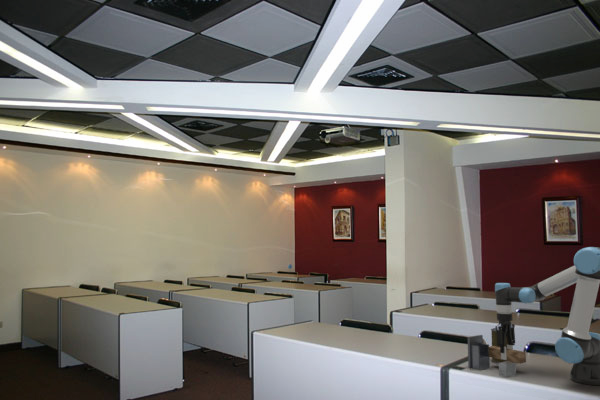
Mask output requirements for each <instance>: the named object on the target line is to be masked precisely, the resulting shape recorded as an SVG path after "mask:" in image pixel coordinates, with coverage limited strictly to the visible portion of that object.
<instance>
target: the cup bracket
mask: <svg viewBox="0 0 600 400" xmlns="http://www.w3.org/2000/svg"><path fill="white" fill-rule="evenodd" d="M483 336H484V335H483V334H478V335H472V336H467V359H468V363H467V364H468V365H467V366H468V369H469V368H470V370H471V368H472V370H476V371H483V370H487V369H490V367H491V366H490V365H491V363H490V362H491V361H490V358H491V357H489V347H490V344H488V343H484V341H483V340H484V337H483Z"/></svg>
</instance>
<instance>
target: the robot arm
mask: <svg viewBox="0 0 600 400" xmlns="http://www.w3.org/2000/svg"><path fill="white" fill-rule="evenodd" d="M574 284H576V285H575V290H574V294H573V298H572V304H571V307H570V313H569V316H568V322H567V326H566V327H564V328H562V330H561V336H560V338H558V339H557V341H556V342H555V344H554V349H555V353H556V354H557V356H558V358H559V359H561V360H562V361H564V363H568V364H572V366H571V370H570V373H569V375H570V376H569V379H570V380H571V381H573V382H576V383H579V384H584V385H590V386H600V334H599V333H596V332H593V331H592V332H591V331H590V327H591V323H592V318H593V315H594V310H595V305H596V300H597V297H598V292H599V289H600V288H599V287H600V247H595V246H588V247H583V248H581V249H579V250H577V252H576V253H575V255H574V257H573V265H572V266H570V267H569V268H567V269H564V270H561V271H560V272H558V273H556V274H554V275H553V276H550V277H548V278H546V279H543V280H542V281H540V282H537V283H536V284H533V285H532V286H526V287H525V286H524V287H512V286H511V284H510V283H509V282H496V283H495V284H494V293H495V294H494V295H495V296H494V297H495V308H496V320H497V321H498V324H497V325H498V326H497V325H496V326H495V327H494V328H496V334H497V345H498V346H500V351H501V359H503V360H507V355H506V347H505V338H506V337H507V342H508V345H507V349H512V350H514V347H513V346H515V345H516V334H515V333H516V332H515V326H516V325H515V324H513V323H512V321H513V320H514V319H513V314H512V313H513V307H512V306H513V305H512V303H522V304H532V303H533V304H534V302H540V301H542V300H544V299H546V297H548V296H551V295H552V294H555V293H557V292H559V291H562V290H563V289H566V288H568V287H570V286H572V285H574Z"/></svg>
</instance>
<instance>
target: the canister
mask: <svg viewBox="0 0 600 400" xmlns="http://www.w3.org/2000/svg"><path fill="white" fill-rule="evenodd" d="M498 325H499V324H497V325H496V326H498ZM490 330H491V346H496V347H500V346H498V345H497V334H496V328H495V327H494V328H490ZM507 345H508V342H507V337H506V338H505V347H506V348H507ZM491 358H492V357H491ZM505 361H506V360H501V359H496V358H492V360H491V362H493V363H494V364H499V363H501V362H505Z"/></svg>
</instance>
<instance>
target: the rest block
mask: <svg viewBox="0 0 600 400" xmlns="http://www.w3.org/2000/svg"><path fill="white" fill-rule="evenodd" d="M516 364H517V363H515V362H511V361H505V362H501V363H498V376H500V377H504V378H509V377H513V375H514V376H517V368H516V367H517V366H516Z"/></svg>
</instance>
